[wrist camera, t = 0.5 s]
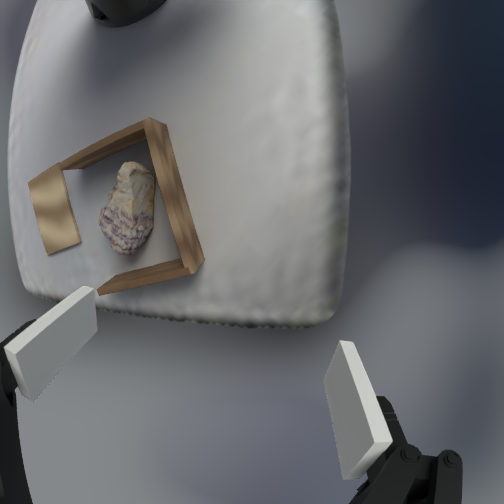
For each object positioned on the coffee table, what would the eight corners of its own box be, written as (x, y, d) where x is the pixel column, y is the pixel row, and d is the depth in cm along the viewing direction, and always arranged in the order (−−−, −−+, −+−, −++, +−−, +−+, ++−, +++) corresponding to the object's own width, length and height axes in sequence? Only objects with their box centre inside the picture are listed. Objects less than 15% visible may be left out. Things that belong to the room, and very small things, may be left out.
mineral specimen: (115, 162, 37) (93, 162, 31) (158, 163, 37) (139, 162, 31) (113, 244, 41) (92, 255, 35) (153, 249, 41) (135, 262, 35)
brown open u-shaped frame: (81, 163, 37) (58, 163, 32) (166, 124, 36) (149, 117, 30) (117, 281, 42) (99, 295, 37) (204, 259, 40) (194, 273, 35)
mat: (30, 182, 39) (28, 182, 38) (60, 162, 38) (58, 162, 37) (49, 254, 42) (47, 255, 41) (81, 241, 41) (79, 242, 40)
